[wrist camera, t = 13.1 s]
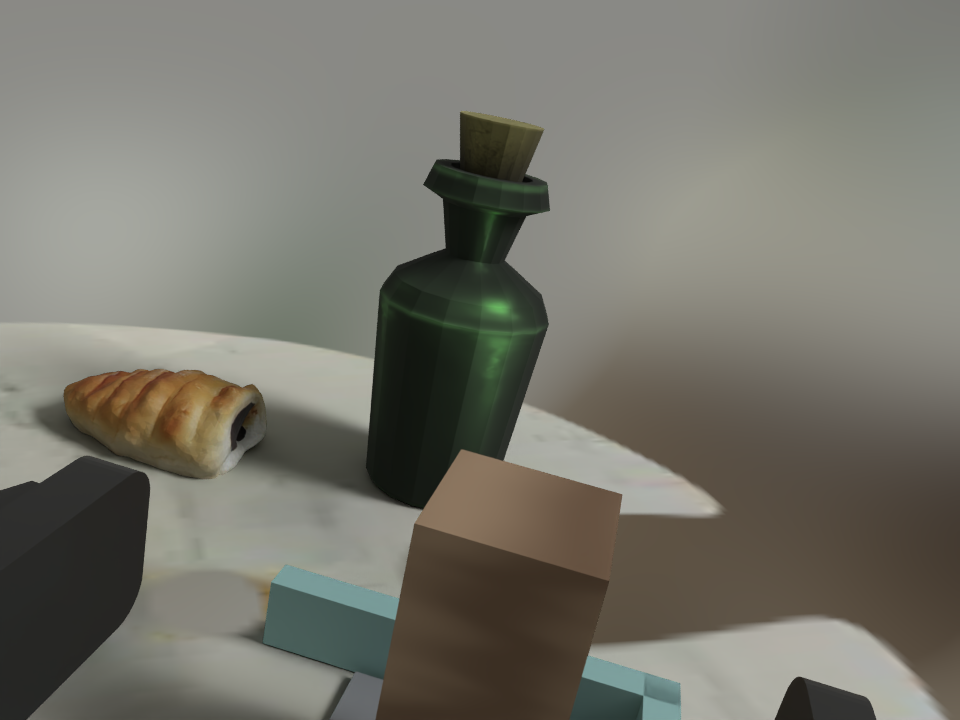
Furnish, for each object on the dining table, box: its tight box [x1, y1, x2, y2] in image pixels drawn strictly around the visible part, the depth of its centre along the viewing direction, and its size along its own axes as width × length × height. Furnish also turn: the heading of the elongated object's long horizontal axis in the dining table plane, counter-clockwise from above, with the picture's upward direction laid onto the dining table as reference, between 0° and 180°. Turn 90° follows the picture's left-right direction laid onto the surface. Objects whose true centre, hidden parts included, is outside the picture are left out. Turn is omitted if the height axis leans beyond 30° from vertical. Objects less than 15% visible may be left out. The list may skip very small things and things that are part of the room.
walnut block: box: [375, 449, 622, 720], centre depth 23 cm, size 4×4×10 cm
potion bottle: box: [366, 111, 550, 508], centre depth 42 cm, size 8×8×18 cm
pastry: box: [63, 369, 267, 479], centre depth 43 cm, size 9×7×4 cm
